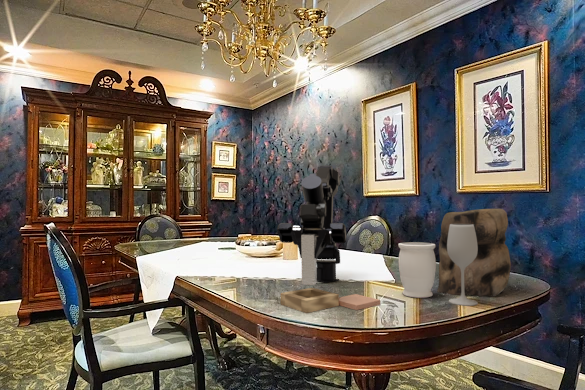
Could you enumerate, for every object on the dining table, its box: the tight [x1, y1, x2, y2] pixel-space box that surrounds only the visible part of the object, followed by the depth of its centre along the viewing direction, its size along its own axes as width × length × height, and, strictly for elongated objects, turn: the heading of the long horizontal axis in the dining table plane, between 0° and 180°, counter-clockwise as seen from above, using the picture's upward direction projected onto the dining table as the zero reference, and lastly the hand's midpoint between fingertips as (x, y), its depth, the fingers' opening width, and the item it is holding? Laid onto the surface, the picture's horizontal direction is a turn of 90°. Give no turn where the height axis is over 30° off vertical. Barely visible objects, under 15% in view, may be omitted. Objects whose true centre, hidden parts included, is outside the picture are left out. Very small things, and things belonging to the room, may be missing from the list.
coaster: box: [339, 293, 381, 311], centre depth 106 cm, size 9×9×1 cm
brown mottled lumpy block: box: [436, 208, 512, 297], centre depth 122 cm, size 20×20×25 cm
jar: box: [398, 241, 437, 299], centre depth 116 cm, size 11×10×15 cm
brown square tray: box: [280, 287, 340, 314], centre depth 105 cm, size 11×11×3 cm
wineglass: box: [447, 224, 479, 307], centre depth 107 cm, size 8×8×21 cm
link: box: [301, 234, 318, 286], centre depth 106 cm, size 3×3×13 cm
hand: (308, 257), depth 104 cm, fingers closed on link, 3 cm apart
